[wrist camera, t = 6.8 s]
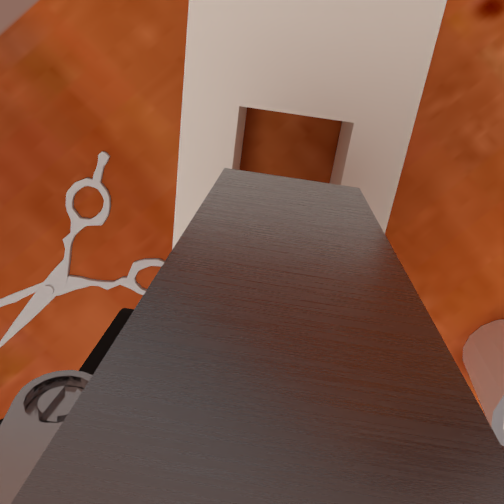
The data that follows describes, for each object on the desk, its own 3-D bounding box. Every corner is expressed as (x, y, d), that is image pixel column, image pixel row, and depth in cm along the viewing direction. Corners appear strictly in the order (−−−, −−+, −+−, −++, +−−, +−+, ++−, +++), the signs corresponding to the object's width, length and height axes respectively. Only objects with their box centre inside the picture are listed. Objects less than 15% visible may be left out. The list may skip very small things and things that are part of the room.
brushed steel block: (359, 187, 13) (732, 861, 2) (320, 355, 15) (393, 1084, 4) (224, 167, 13) (-120, 707, 2) (206, 337, 16) (-1, 1008, 4)
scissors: (199, 273, 32) (13, 387, 38) (201, 268, 33) (18, 382, 39) (103, 150, 30) (-82, 293, 35) (108, 148, 30) (-74, 288, 36)
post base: (418, 11, 25) (447, -1, 21) (344, 314, 33) (352, 355, 28) (209, -18, 25) (191, -37, 21) (184, 289, 33) (167, 325, 29)
